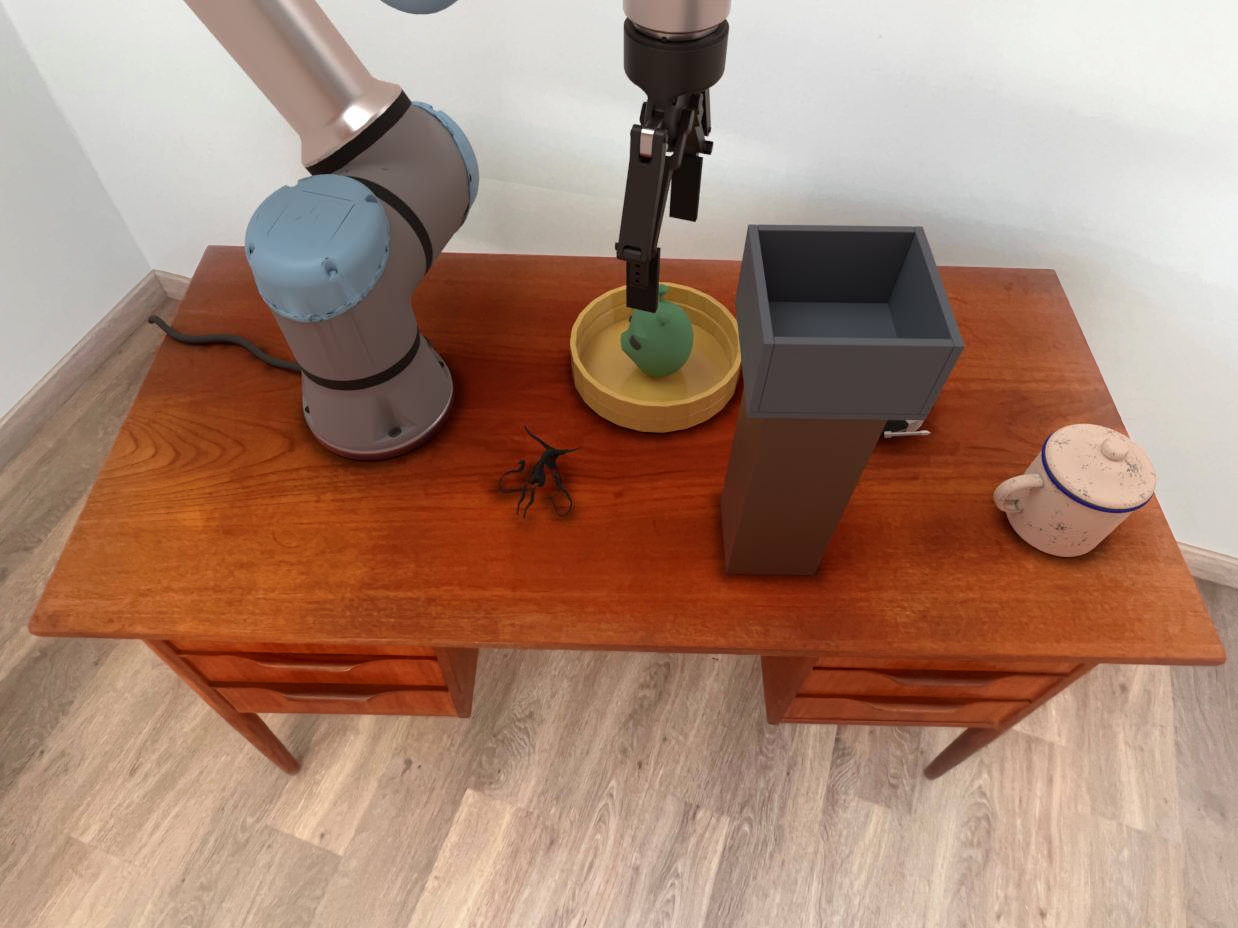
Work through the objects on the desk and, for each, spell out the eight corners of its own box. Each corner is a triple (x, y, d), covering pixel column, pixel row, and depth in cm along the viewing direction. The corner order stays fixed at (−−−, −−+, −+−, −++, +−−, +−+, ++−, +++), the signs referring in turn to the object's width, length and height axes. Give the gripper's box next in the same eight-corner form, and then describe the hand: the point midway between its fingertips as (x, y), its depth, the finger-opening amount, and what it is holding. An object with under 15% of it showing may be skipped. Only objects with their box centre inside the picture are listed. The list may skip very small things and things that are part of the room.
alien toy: (619, 344, 83) (619, 274, 75) (687, 343, 83) (695, 273, 75) (620, 391, 79) (621, 323, 71) (692, 390, 79) (701, 322, 71)
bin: (708, 587, 66) (764, 343, 41) (703, 487, 72) (748, 223, 47) (834, 589, 66) (965, 346, 41) (817, 489, 72) (923, 226, 47)
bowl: (547, 408, 78) (544, 380, 74) (604, 297, 88) (603, 267, 84) (714, 453, 75) (719, 425, 71) (753, 332, 85) (760, 302, 81)
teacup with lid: (1076, 476, 73) (1145, 400, 64) (1119, 558, 68) (1200, 487, 58) (958, 483, 73) (1009, 407, 63) (991, 565, 67) (1052, 496, 58)
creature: (560, 537, 70) (595, 466, 73) (550, 518, 65) (588, 443, 68) (489, 508, 72) (526, 440, 75) (474, 487, 67) (514, 415, 70)
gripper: (679, 116, 44) (664, 361, 62) (766, -46, 58) (733, 191, 75) (563, 96, 46) (580, 341, 63) (674, -58, 60) (663, 178, 77)
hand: (663, 260), depth 69 cm, fingers open, 13 cm apart
